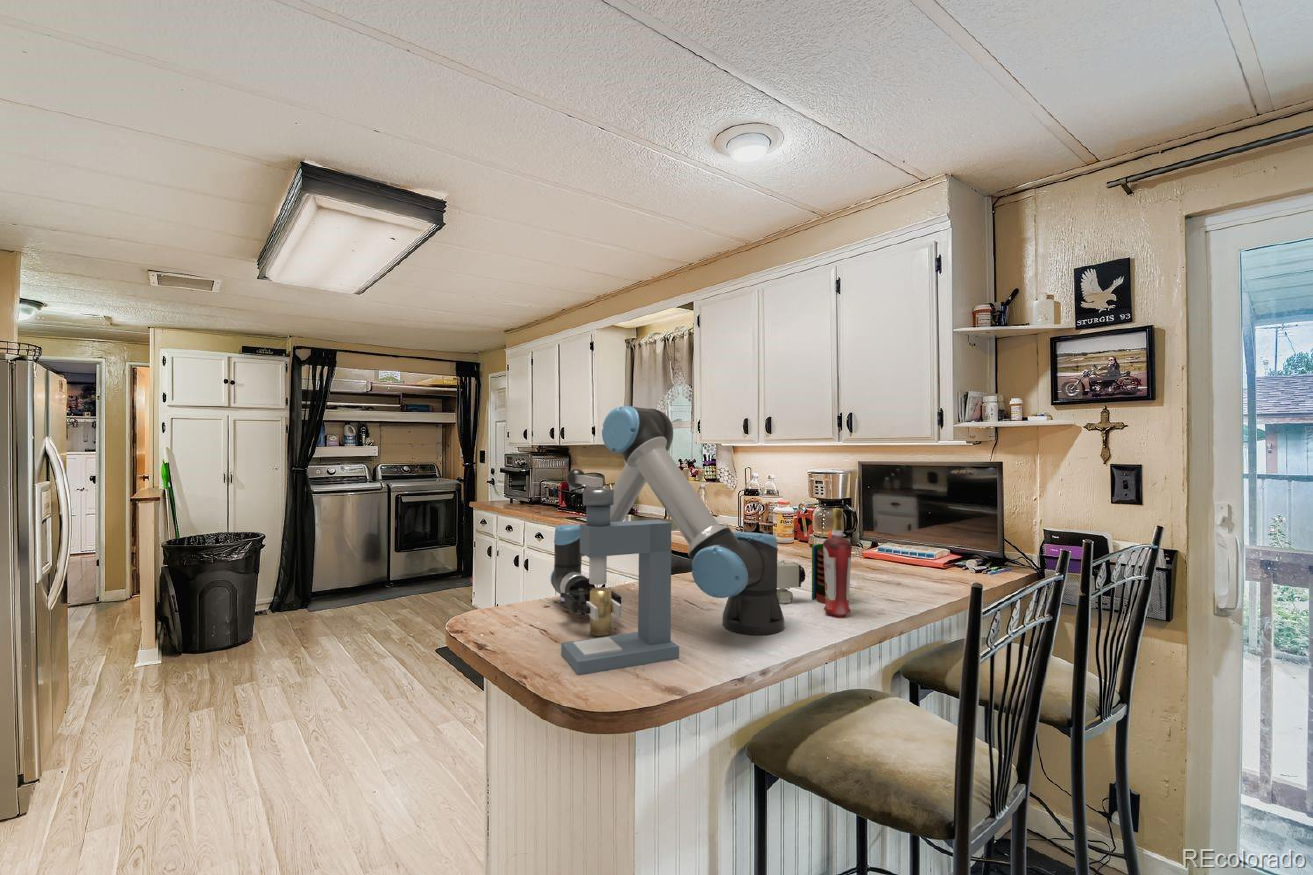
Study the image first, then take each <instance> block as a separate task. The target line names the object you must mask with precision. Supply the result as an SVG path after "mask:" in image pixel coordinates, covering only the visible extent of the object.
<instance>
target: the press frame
mask: <svg viewBox="0 0 1313 875" xmlns="http://www.w3.org/2000/svg"><path fill="white" fill-rule="evenodd" d="M585 506H586V508H585V509H586V510H585V511H586V512H585V514H586V515H585V516H586V517H585V518H586V519H585V522H586V523H580V524H579V525H580V553H582V554H584V555H585V556H584V557H587V558H588V560H589V561H588V563H589V564H588V565H589V567H588V568H589V569H588V575H589V576H588V579H589V583H590V584H593V585H595V586H598V585H605V584H607V581H608V580H607V578H608V577H607V576H608V575H607V568H608V566H607V565H608V564H607V560H608V559H607V557H611V556H612V557H613V556H624V555H638V604H637V605H638V612H637V613H638V614H637V616H638V617H637V620H638V622H637V624H638V625H637V627H638V628H637V630H638V631H635V632H628V633H620V634H614V635H605V636H598V637H592V638H585V639H584V638H583V639H579V640H571V641H565V642H561V644H560V646H561V647H560V649H561V650H560V655H561V656H562V658H563V659H564V660H565V661H566V663H568V665H569V666H570V667H571V669H572V670H573V671H574V672H575V674H576V675H578V676H581V675H586V674H591V673H598V672H604V671H610V670H617V669H623V668H627V667H629V668H630V667H635V666H639V665H646V664H653V663H658V662H666V661H670V660H676V659H680V646H679V645H678V644H676V643H675V642H674V641H673V640H672V638H671V635H672V633H671V632H672V631H671V630H672V629H671V628H672V625H671V624H672V623H671V622H672V621H671V619H672V616H671V615H672V614H671V613H672V522H669V521H665V520H663V519H646V520H628V521H624V520H623V522H610V505H608V506H588V505H585Z"/></svg>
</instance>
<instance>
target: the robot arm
mask: <svg viewBox="0 0 1313 875" xmlns="http://www.w3.org/2000/svg"><path fill="white" fill-rule="evenodd" d="M673 427H674V426H673V423H672V421H671V419H670V418H669V416H667V414H666V413H665V412H663V411H661V410H660V409H656V408H647V407H646V408H645V407H637V406H631V405H625V406H617V407H616V408H613V409H612V410H611V411H610V412H608V414H607V415H606V417H605V418H604V421H603V424H602V430H601V437H602V441H603V444H604V445H605V447H606V448H607V449H608V450H609V451H610V452H612V453H615V454H620V455H621V456H622V458H623V459H624V461H625V465H624V467H623V468H622V470H621V472H620V474H619V475H618V478H617V479H616V481H615V483H614V485H613V487H612V488H611V489H613V490H614V505H610V522H624V520H625V518H626V517H627V516H628V513H629V512H630V510H631V508H632V507H633V505H634V503H635V502H636V500H637V498H638V496H639V495H640V493H641V491H642V490H643V487H644V486H645V485H646V483H647V484H648V486H649V487H650V489H651V491H652V492H653V493H654V495H655V496H656V498H657V499H658V501H659V502H660V504H661V506H662V507H663V508H664V509H665V511H666V513H667V515H668V516H669V517H670V519H671V520H672V521H673V524H675V526H676V528H677V529H678V531H679V532H680V533H681V535H682V537H683V538H684V540H685V542H687V544H688V553H687V555H688V557H689V559H690V560H691V568H692V570H691V574H692V579H693V581H694V583H695V584H696V586H697V588H699V590H700V591H702V592H703V593H704V594H706V595H707V596H710V597H712V598H716V599H725V598H727V599H726V603H725V606H724V609H723V612H722V617H721V618H722V619H721V620H722V623H721V624H722V626H723V627H724V628H725V629H726V630H729V631H732V632H736V633H740V634H745V635H772V634H777V633H779V632H781V631H783V630H784V628H785V617H784V614H783V610H782V608H781V604H779V601H778V597H777V589H778V588H777V563H778V552H779V548H778V541H777V540H778V539H777V537H776V536H775V535H773V534H769V533H759V532H749V531H735V530H734V531H732V530H731V528H730V527H729V526H726V525H720V523H718V521H717V520H716V518H715V517H714V515H713V514H712V513H711V512H710V510H709V509H708V507H707V505H706V503H704V501H703V500H702V499H701V497H700V496H699V494H698V492H697V491H696V490H695V489H694V487H693V485H692V484H691V482H690V481H689V480H688V478H687V477H686V475H685V474H684V473H683V472H682V470H681V469H680V467H679V466H678V464H677V462H675V460H674V459H673V457H672V456H671V454H670V453H669V450H670V448H671V445H672V443H673V440H674V428H673ZM553 537H554V539H553V544H554V548H553V550H554V558H553V559H554V565H553V570H552V572H551V574H550V585H551V586H552V588H553V589H554V590H555V592H557V593H558V594H559V596H560V598H559V602H560V604H561V605H564V606H565V607H566V608H567V609H568V610H569V611H570V612H571V613H573V614H576V613H578V612H580V616H581V617H584V616H586V615H588V616H589V618H590V617H591V618H592V619H594V620H595V621H596V620H598V608H597V607H596V606H595V605H593V604H592V603H591V602H590V589H593V588H597V587H596V585H593V584H590V583H589V577H586V575H584V574H582V565H583V564H582V562H583V561H582V559H583V557H586V556H585V555H584V554H582V553H580V524H569V523H567V524H560V525H557V526H556V527H555V529H554V536H553ZM609 588H610V589H611V614H613V615H614V616H616V617H617V618H619V619H620V618H622V613H623V612H622V611H623V606H622V596H621V595H620V594H618V593H616V592H615V591H613V590H612V588H611V587H609Z"/></svg>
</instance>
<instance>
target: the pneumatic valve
mask: <svg viewBox="0 0 1313 875" xmlns="http://www.w3.org/2000/svg"><path fill="white" fill-rule="evenodd" d="M805 580H806V571H805V569H804V567H803V566H802V565H801V564H799V563H797V562H795V561H790V562H789V561H787V562H786V560H784V559H781V562H777V597H778V601H779V604H780V605H783V604H791V603H792V601H793V599H794V595H793V592H792V591H790V589H791V588H792V589H793V588H801V587H802V583H804V582H805Z"/></svg>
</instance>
